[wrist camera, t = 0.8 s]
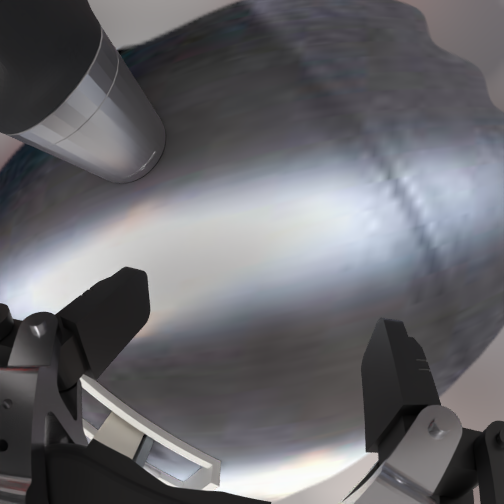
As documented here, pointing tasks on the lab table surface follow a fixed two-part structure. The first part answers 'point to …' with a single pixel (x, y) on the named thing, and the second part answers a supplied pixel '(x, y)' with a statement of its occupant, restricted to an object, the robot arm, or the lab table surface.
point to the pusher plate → (145, 455)
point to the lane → (200, 480)
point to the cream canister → (119, 435)
